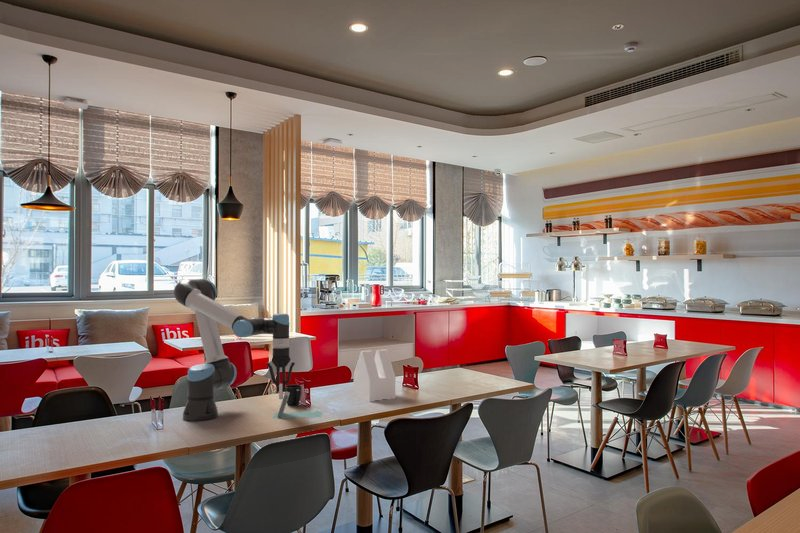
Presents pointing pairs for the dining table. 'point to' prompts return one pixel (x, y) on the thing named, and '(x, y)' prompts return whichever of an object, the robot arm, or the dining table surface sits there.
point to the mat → (299, 415)
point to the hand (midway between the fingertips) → (280, 398)
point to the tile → (283, 404)
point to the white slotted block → (374, 376)
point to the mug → (293, 394)
